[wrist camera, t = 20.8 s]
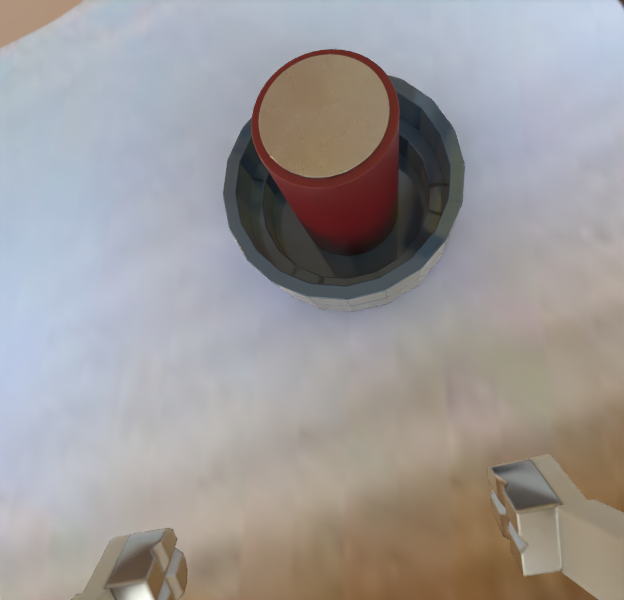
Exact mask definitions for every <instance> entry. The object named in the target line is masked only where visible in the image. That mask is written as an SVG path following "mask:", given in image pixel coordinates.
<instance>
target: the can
mask: <svg viewBox="0 0 624 600" xmlns="http://www.w3.org/2000/svg"><path fill="white" fill-rule="evenodd" d="M251 128H252V138H253V143H254V146H255V148H256V151H257V153H258V155H259V157H260V159H261V160H262V162H263V164H264V165H265V167H266V168H267V170H268V171H269V173H270V175H271V176H272V178H273V179H274V181H275V183H276V184H277V186H278V187H279V189H280V190H281V192H282V194H283V195H284V197H285V198H286V200H287V201H288V203H289V205H290V206H291V208H292V209H293V211H294V213H295V214H296V216H297V217H298V219H299V220H300V222H301V224H302V225H303V227H304V228H305V230H306V231H307V233H308V235H309V236H310V237H311V239H312V240H313V241H314V242H315V243H316V244H317V245H318V246H319V247H321V248H322V249H324V250H326V251H328V252H330V253H333V254H337V255H343V256H352V255H359V254H363V253H365V252H368V251H370V250H372V249H374V248H375V247H377V246H378V245H380V244H381V243H382V242H383V241H384V240H385V239H386V238H387V237H388V235H389V234H390V232H391V231H392V229H393V227H394V225H395V222H396V219H397V214H398V176H399V101H398V97H397V93H396V91H395V88H394V86H393V84H392V82H391V80H390V79H389V77H388V76H387V75H386V73H385V72H384V71H383V70H382V69H381V68H380V67H379V66H378V65H377V64H376V63H374V62H373V61H371V60H370V59H368V58H366V57H364V56H362V55H360V54H357V53H354V52H351V51H345V50H336V49H329V50H320V51H314V52H311V53H307V54H304V55H302V56H300V57H297V58H295V59H293V60H292V61H290V62H288V63H287V64H285V65H284V66H283V67H281V68H280V69H279V70H278V71H277V72H276V73H275V74H273V75H272V77H271V78H270V79H269V80H268V81H267V83H266V84H265V85H264V87H263V89H262V90H261V92H260V94H259V96H258V98H257V100H256V103H255V106H254V110H253V114H252V124H251Z"/></svg>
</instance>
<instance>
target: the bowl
mask: <svg viewBox="0 0 624 600" xmlns="http://www.w3.org/2000/svg"><path fill="white" fill-rule="evenodd" d="M387 76H388V75H387ZM388 77H389V79H390V80H391V82H392V84H393V86H394V88H395V91H396V93H397V97H398V101H399V176H398V214H397V219H396V222H395V225H394V227H393V229H392V231H391V232H390V234H389V235H388V237H387V238H386V239H385V240H384V241H383V242H382V243H381V244H380V245H378V246H377V247H375V248H374V249H372V250H370V251H368V252H365V253H363V254H359V255H352V256H343V255H337V254H333V253H330V252H328V251H326V250H324V249H322V248H321V247H319V246H318V245H317V244H316V243H315V242H314V241H313V240H312V239H311V237H310V236H309V235H308V233H307V231H306V230H305V228H304V227H303V225H302V224H301V222H300V220H299V219H298V217H297V216H296V214H295V213H294V211H293V209H292V208H291V206H290V205H289V203H288V201H287V200H286V198H285V197H284V195H283V194H282V192H281V190H280V189H279V187H278V186H277V184H276V183H275V181H274V179H273V178H272V176H271V175H270V173H269V171H268V170H267V168H266V167H265V165H264V164H263V162H262V160H261V159H260V157H259V155H258V153H257V151H256V148H255V146H254V143H253V138H252V128H251V124H252V118H251V119H250V120H249V121H248V122H247V123H246V125H245V126H244V127H243V129H242V130H241V132H240V134H239V136H238V139H237V141H236V143H235V145H234V147H233V149H232V152H231V154H230V156H229V158H228V161H227V168H226V176H225V183H224V191H223V197H224V203H225V208H226V213H227V219H228V224H229V228H230V231H231V233H232V235H233V236H234V238H235V240H236V242H237V243H238V245H239V247H240V249H241V251H242V252H243V254H244V256H245V258H246V259H247V260H248V261H249V262H250V263H251V264H252V265H253V266H255V267H256V268H257V269H258V270H259V271H260V272H261V273H262V274H264V275H265V276H266V277H267V278H268V279H269V280H270V281H272V282H273V283H274V284H275V285H277V286H278V287H280V288H281V289H282V290H284V291H285V292H286V293H288V294H289V295H291V296H292V297H294V298H296V299H299V300H301V301H303V302H306V303H308V304H311V305H313V306H315V307H318V308H320V309H328V310H340V311H359V310H363V309H368V308H372V307H376V306H380V305H384V304H387V303H390V302H391V301H393V300H395V299H396V298H398V297H400V296H401V295H403V294H405V293H406V292H408V291H410V290H411V289H413V288H415V287H416V286H417V285H418V284H419V283H420V282H421V281H422V280H423V278H424V277H425V276H426V275H427V274H428V273H429V272H430V270H431V269H432V268H433V267H434V266H435V265H436V264H437V262H438V261H439V260H440V257H441V255H442V253H443V250H444V248H445V245H446V243H447V241H448V238H449V236H450V233H451V231H452V228H453V226H454V223H455V221H456V218H457V216H458V213H459V211H460V208H461V206H462V202H463V188H464V171H465V166H464V164H465V163H464V160H463V156H462V153H461V150H460V146H459V143H458V140H457V136H456V133H455V130H454V128H453V127H452V125H451V124H450V123H449V121H448V120H447V119H446V117H445V116H444V115H443V113H442V112H441V110H440V109H439V108H438V106H437V105H436V104H435V102H434V101H433V100H432V99H431V98H429V97H428V96H426V95H425V94H423V93H422V92H420V91H419V90H417V89H416V88H414V87H413V86H411V85H410V84H408V83H407V82H405V81H404V80H402V79H399V78H396V77H392V76H388Z"/></svg>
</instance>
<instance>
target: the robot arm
mask: <svg viewBox="0 0 624 600" xmlns="http://www.w3.org/2000/svg"><path fill="white" fill-rule="evenodd" d="M487 475H488V481H489V483H490V485H491V487H492V489H493V491H492V493H491V495H490V497H491V503H492V508H493V512H494V515H495V519H496V521H497V524H498V526H499V528H500V531H501V533H502V535H503V536H504V537H506V538H507V539H509V540H510V547H511V553H512V554H513V556H514V558H515V560H516V562H517V564H518V566H519V568H520V570H521V572H522V574H523V576H530V575H537V574H544V573H551V572H558V571H562V573H563V574H565V575H566V576H567V577H569V578H570V579H571V580H573V581H574V582H575V583H577V584H578V585H579V586H581V587H582V588H583V589H585V590H586V591H587V592H589V593H590V594H591V595H593V596H594V597H595V598H597V599H598V600H624V513H623V512H621V511H619V510H617V509H615V508H612V507H610V506H608V505H606V504H604V503H602V502H599V501H597V500H595V499H593V500H587V498H586V497H585V496H584V495H583V493H582V492H581V491H580V490H579V489H578V487H577V486H576V485H575V484H574V482H573V481H572V480H571V479H570V477H569V476H568V475H567V474H566V473H565V471H564V470H563V469H562V468H561V466H560V465H559V464H558V463H557V461H556V460H555V459H554V458H553V457H552V456H551V455H549V454H546V455H542V456H537V457H532V458H528V459H525V460H520V461H515V462H510V463H505V464H500V465H495V466H490V467H487ZM176 542H177V537H176V535H175V533H174V531H173V529H171V528H164V529H158V530H152V531H146V532H140V533H134V534H130V535H124V536H118V537H114V538H113V539H112V540H110V542H109V543H108V545H107V547H106V549H105V551H104V553H103V555H102V557H101V559H100V561H99V563H98V564H97V566H96V568H95V570H94V572H93V574H92V576H91V578H90V580H89V582H88V584H87V585H86V587H85V589H84V591H83V593H81V594H76V595H75V596H74V597H73V598H72V599H71V600H179V599H180V598H181V597H182V595H183V594H184V592H185V588H186V584H187V564H186V560H185V557H184V554H183V552H181V551H180V550H178V549H177V548H175V545H176Z"/></svg>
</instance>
